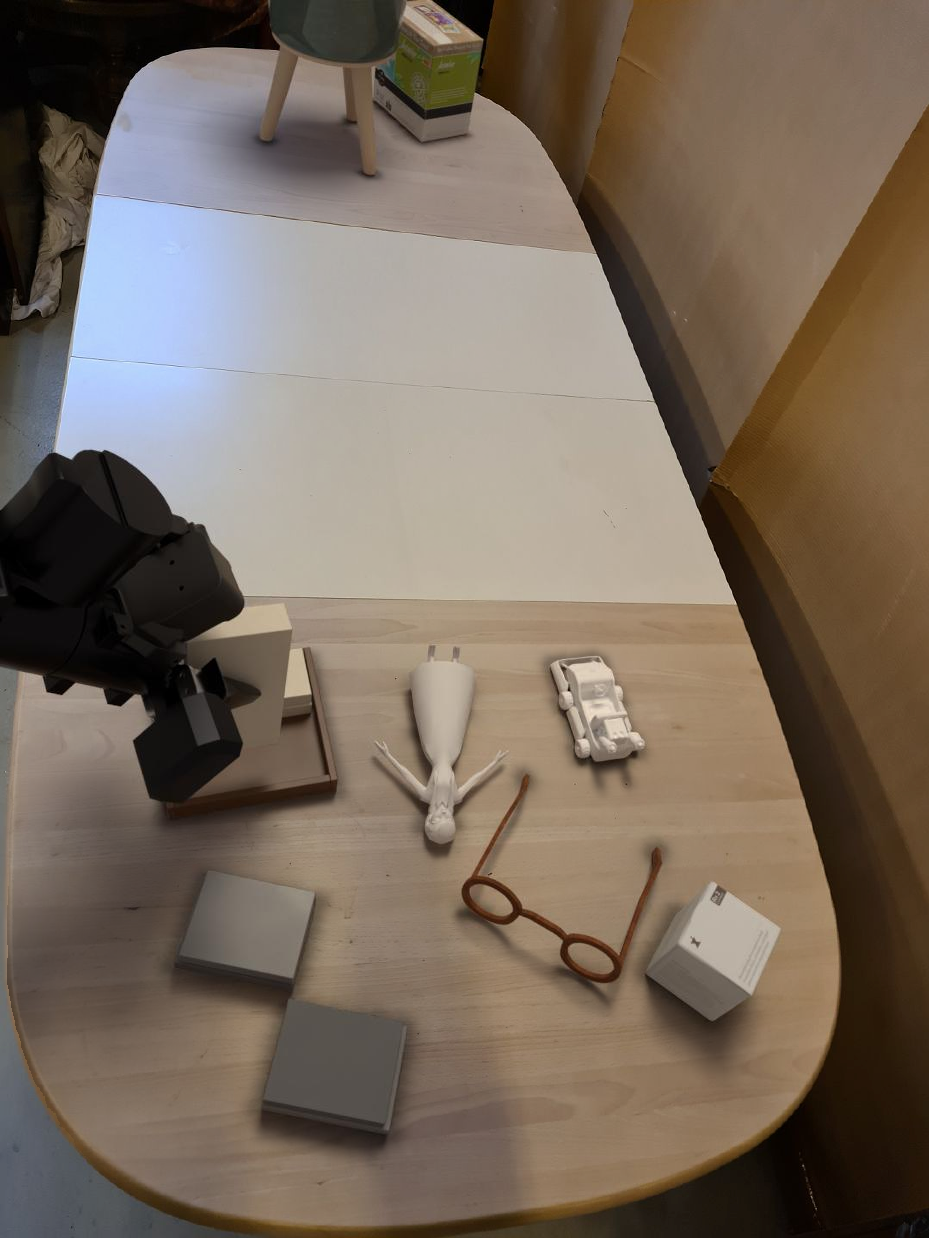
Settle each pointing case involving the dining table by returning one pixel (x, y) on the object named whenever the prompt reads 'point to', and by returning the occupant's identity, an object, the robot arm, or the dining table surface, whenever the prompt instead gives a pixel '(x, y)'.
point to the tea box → (430, 73)
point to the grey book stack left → (246, 931)
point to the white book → (251, 665)
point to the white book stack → (297, 686)
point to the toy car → (595, 709)
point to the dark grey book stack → (336, 1067)
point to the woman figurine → (441, 737)
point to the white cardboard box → (714, 952)
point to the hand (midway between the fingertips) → (249, 677)
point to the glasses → (547, 924)
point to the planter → (335, 54)
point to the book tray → (273, 765)
